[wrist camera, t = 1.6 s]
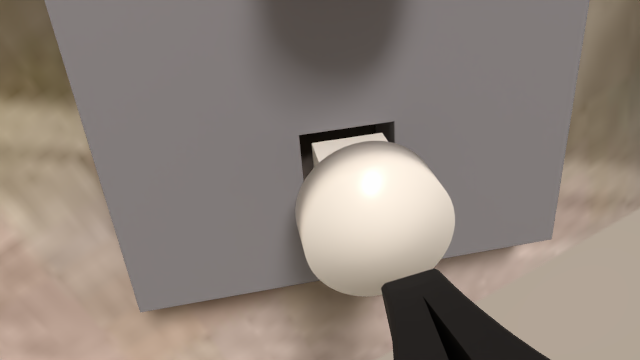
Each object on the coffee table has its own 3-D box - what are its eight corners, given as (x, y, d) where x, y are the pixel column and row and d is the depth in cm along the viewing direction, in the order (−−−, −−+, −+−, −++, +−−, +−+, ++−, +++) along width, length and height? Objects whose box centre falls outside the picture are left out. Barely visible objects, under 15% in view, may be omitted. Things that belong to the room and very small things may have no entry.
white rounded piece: (411, 100, 19) (458, 154, 15) (410, 213, 21) (451, 282, 18) (278, 119, 18) (296, 180, 15) (291, 232, 20) (310, 308, 17)
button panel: (587, -341, 16) (648, -371, 14) (521, 206, 25) (551, 239, 23) (-21, -312, 14) (-61, -343, 12) (145, 269, 23) (140, 312, 21)
